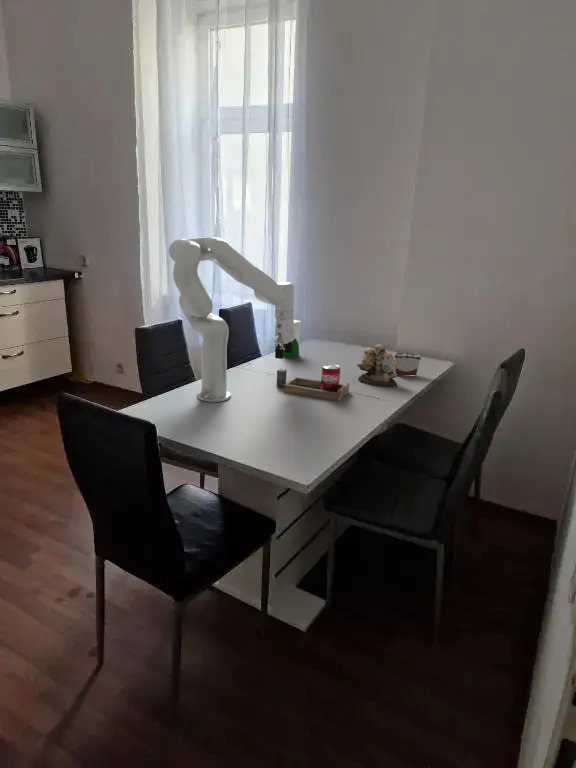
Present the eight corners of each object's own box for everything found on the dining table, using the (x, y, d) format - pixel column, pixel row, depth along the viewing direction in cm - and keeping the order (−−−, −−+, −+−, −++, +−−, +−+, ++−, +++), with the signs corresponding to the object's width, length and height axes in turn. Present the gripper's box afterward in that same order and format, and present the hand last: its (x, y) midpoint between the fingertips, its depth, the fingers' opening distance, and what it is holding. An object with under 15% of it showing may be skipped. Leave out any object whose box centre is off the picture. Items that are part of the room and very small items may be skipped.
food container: (417, 373, 246) (420, 352, 243) (419, 377, 240) (421, 355, 237) (390, 371, 247) (392, 350, 244) (392, 375, 241) (394, 354, 238)
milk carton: (277, 356, 266) (278, 317, 259) (287, 352, 273) (288, 314, 267) (292, 359, 261) (294, 319, 255) (301, 355, 269) (303, 316, 262)
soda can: (337, 398, 208) (339, 369, 204) (319, 397, 209) (320, 368, 205) (339, 393, 214) (341, 364, 211) (321, 391, 216) (323, 363, 212)
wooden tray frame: (339, 401, 204) (340, 384, 202) (271, 389, 214) (272, 373, 212) (348, 392, 215) (349, 375, 213) (283, 381, 225) (284, 366, 223)
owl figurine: (352, 383, 228) (355, 344, 223) (360, 376, 239) (363, 339, 234) (393, 389, 221) (397, 350, 216) (399, 382, 232) (403, 344, 227)
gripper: (284, 318, 201) (284, 361, 206) (300, 311, 216) (300, 351, 221) (266, 317, 203) (266, 359, 209) (284, 309, 219) (283, 349, 224)
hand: (283, 355), depth 215 cm, fingers open, 9 cm apart
